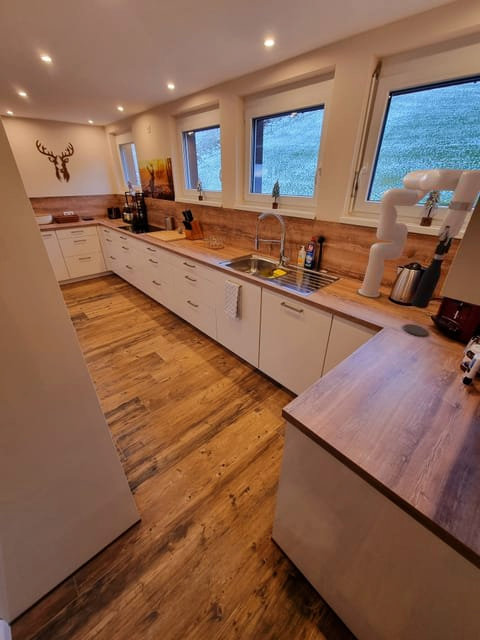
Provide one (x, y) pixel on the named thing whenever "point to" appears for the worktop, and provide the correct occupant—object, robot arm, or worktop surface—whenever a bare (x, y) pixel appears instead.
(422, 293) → the black bottle
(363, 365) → the worktop surface
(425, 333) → the slate coaster
